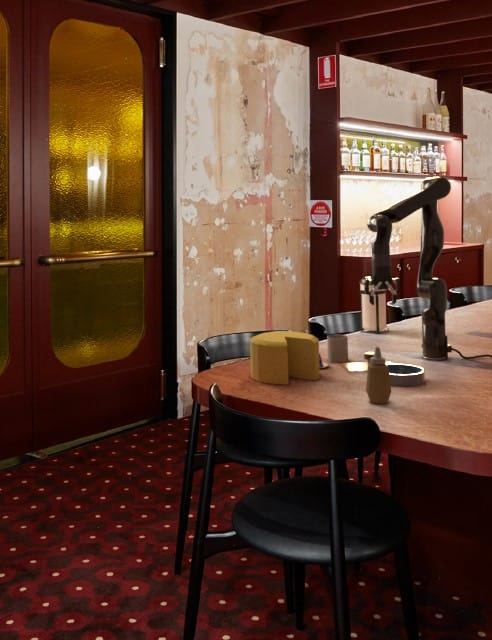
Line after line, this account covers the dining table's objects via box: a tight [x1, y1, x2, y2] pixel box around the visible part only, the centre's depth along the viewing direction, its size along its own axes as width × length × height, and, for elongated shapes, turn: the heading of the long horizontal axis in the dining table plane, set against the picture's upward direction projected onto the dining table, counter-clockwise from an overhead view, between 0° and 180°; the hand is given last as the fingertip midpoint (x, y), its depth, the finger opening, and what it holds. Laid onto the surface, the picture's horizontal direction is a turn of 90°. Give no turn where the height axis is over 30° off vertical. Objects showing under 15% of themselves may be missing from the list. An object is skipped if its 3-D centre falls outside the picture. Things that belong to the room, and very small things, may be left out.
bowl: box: [386, 363, 426, 387], centre depth 262 cm, size 17×17×5 cm
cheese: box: [249, 331, 320, 385], centre depth 275 cm, size 26×26×15 cm
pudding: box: [319, 353, 329, 370], centre depth 289 cm, size 12×12×5 cm
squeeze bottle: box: [365, 346, 392, 405], centre depth 237 cm, size 8×8×18 cm
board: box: [342, 361, 395, 373], centre depth 283 cm, size 20×14×1 cm
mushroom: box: [363, 351, 375, 365], centre depth 283 cm, size 5×5×5 cm
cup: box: [326, 334, 349, 364], centre depth 299 cm, size 8×8×10 cm
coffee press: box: [358, 271, 390, 335], centre depth 364 cm, size 17×16×30 cm
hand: (383, 304), depth 292 cm, fingers open, 8 cm apart
